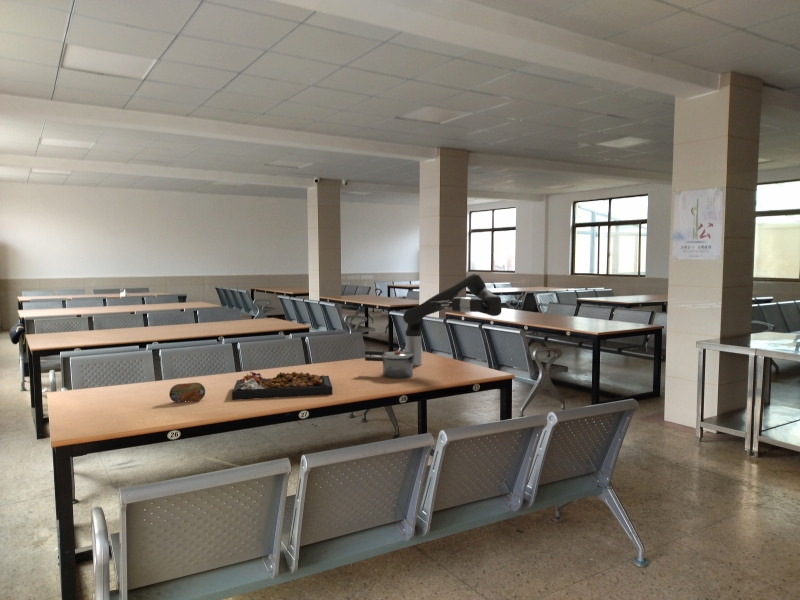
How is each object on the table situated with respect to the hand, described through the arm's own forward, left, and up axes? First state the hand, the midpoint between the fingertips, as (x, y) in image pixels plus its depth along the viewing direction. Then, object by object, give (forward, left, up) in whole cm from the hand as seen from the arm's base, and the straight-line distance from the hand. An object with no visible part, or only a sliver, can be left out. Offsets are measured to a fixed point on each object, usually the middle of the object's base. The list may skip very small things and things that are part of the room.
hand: (429, 303), depth 301 cm
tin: (-40, -113, -39) cm, 126 cm away
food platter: (-27, -72, -40) cm, 87 cm away
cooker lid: (-19, -11, -29) cm, 36 cm away
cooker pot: (-19, -11, -39) cm, 45 cm away
